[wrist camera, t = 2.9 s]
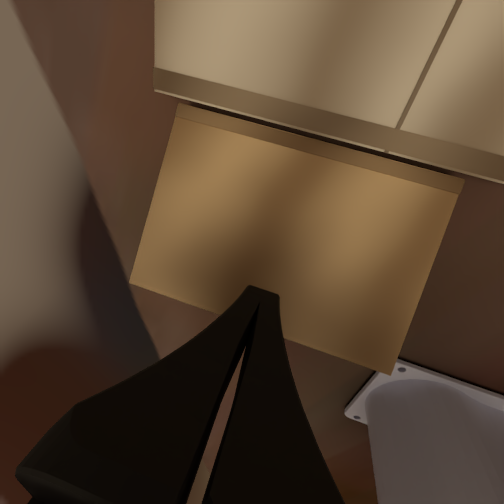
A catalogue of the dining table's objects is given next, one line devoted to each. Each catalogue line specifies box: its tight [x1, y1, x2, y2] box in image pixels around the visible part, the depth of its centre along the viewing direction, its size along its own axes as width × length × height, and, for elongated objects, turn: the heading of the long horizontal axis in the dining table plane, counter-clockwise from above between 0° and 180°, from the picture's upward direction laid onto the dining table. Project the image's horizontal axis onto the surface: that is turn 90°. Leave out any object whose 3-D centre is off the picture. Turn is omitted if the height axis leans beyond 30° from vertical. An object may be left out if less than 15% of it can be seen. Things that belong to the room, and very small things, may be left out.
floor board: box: [153, 0, 504, 184], centre depth 9 cm, size 16×8×2 cm, turn 78°
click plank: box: [129, 103, 465, 376], centre depth 12 cm, size 13×9×1 cm
